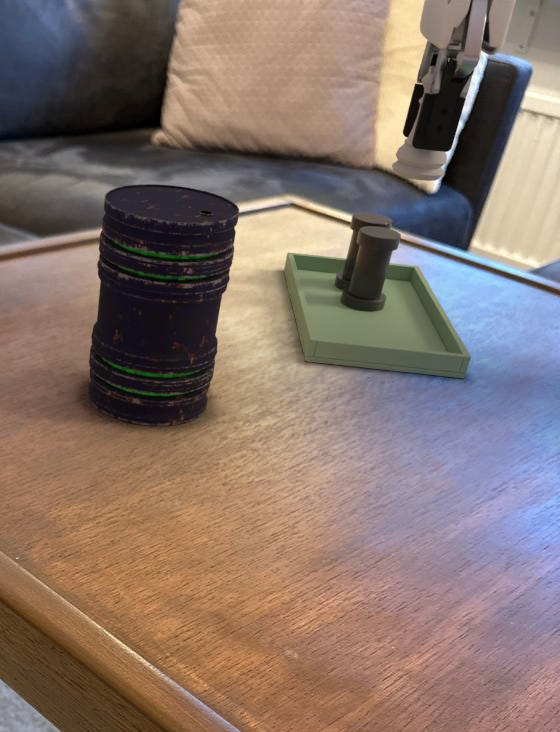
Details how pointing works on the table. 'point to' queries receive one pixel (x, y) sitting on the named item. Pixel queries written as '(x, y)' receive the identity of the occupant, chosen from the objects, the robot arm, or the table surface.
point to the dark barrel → (159, 301)
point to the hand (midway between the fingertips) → (426, 141)
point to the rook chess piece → (419, 151)
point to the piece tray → (373, 321)
